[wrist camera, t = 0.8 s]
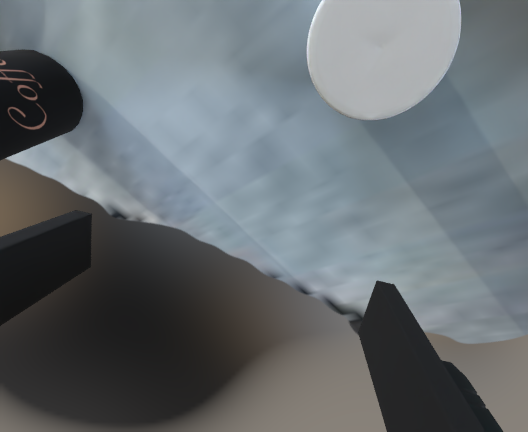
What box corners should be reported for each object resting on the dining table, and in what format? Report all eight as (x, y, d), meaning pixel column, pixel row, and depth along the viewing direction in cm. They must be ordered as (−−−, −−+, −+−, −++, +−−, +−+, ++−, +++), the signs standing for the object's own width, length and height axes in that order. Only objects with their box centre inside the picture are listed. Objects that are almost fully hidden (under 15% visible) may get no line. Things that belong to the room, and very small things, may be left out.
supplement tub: (383, 99, 33) (413, 142, 21) (303, 76, 33) (288, 106, 21) (429, -5, 28) (505, -28, 16) (332, -31, 28) (334, -72, 16)
